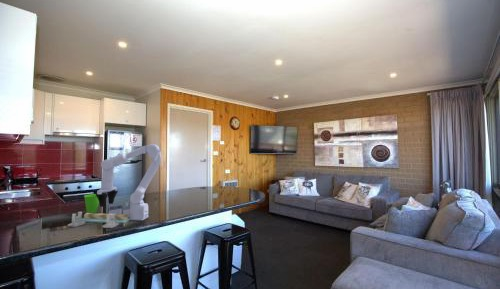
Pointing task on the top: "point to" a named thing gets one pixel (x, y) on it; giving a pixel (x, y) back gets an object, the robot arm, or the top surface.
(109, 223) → the hook stand
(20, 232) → the top surface
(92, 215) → the rail
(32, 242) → the top surface
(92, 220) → the mat
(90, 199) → the cup
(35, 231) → the top surface
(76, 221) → the hook stand
